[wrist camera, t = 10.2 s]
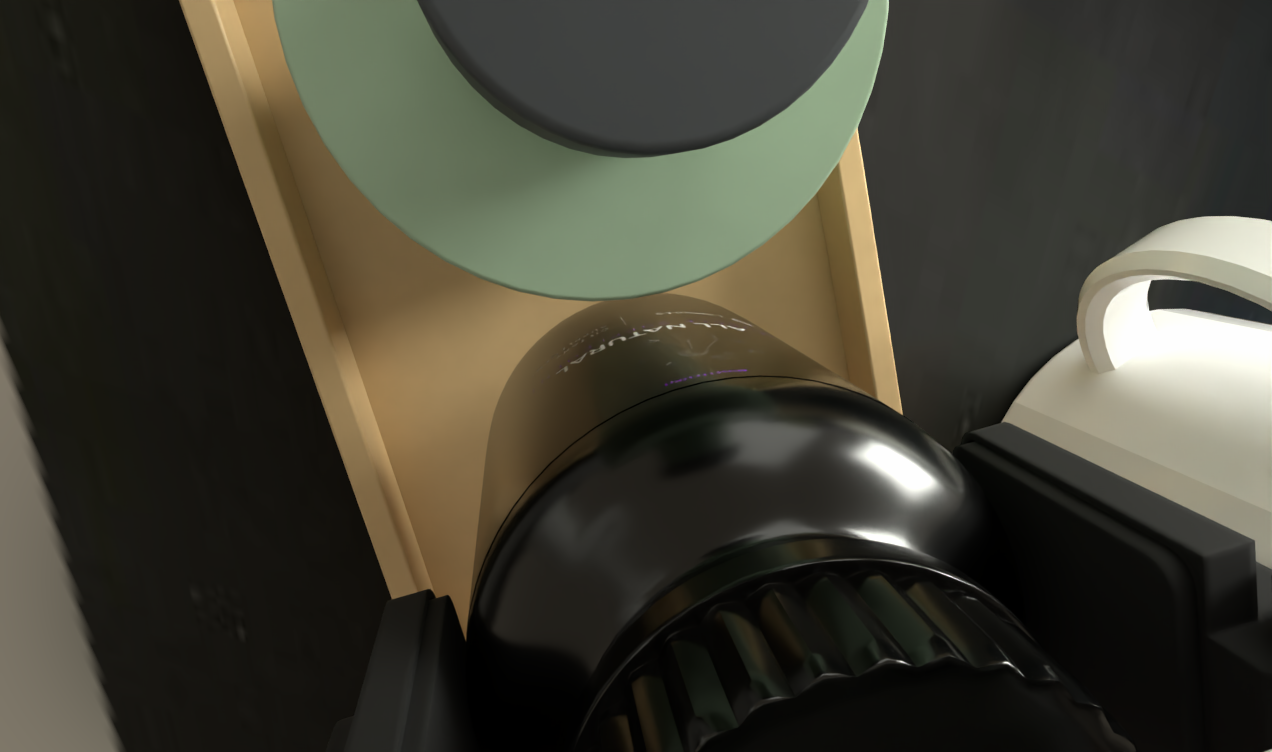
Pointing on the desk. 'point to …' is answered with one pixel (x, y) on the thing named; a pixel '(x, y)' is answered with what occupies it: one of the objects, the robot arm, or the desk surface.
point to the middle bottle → (585, 126)
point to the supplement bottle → (741, 560)
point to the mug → (1171, 376)
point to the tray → (474, 309)
